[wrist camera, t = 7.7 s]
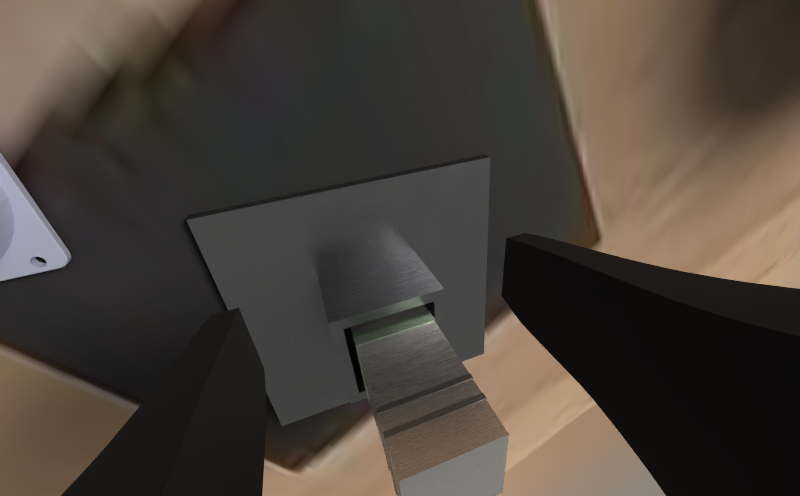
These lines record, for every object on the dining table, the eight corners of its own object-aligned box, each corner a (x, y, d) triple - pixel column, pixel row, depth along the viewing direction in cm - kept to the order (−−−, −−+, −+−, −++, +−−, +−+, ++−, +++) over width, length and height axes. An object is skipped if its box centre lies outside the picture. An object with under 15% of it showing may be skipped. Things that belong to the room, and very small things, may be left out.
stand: (281, 418, 24) (283, 485, 20) (189, 215, 16) (162, 261, 12) (479, 348, 28) (513, 393, 24) (484, 154, 20) (536, 175, 16)
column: (361, 374, 19) (408, 537, 13) (348, 321, 17) (397, 481, 11) (426, 352, 20) (503, 492, 13) (421, 299, 18) (509, 433, 11)
